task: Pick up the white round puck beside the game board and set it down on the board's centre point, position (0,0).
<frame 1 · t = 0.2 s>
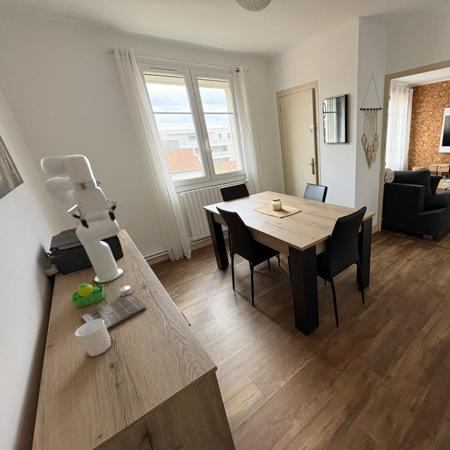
hand: (100, 224, 107), 36 cm above the table, tool pointing down, fingers open, 9 cm apart
fruit basket: (91, 301, 113), on the table
white round puck: (126, 293, 118), on the table
white cup: (100, 348, 87), on the table
board: (114, 313, 104), on the table
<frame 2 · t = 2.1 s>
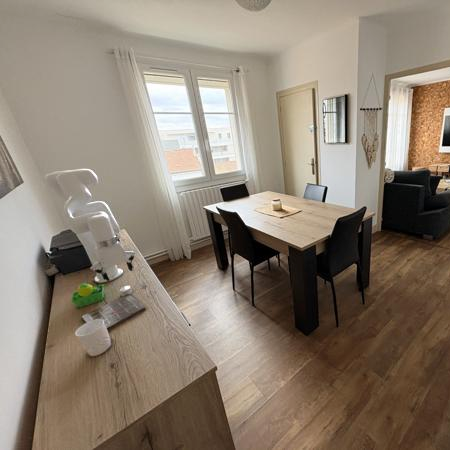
hand: (119, 274, 113), 11 cm above the table, tool pointing down, fingers open, 9 cm apart
nothing on the table moved.
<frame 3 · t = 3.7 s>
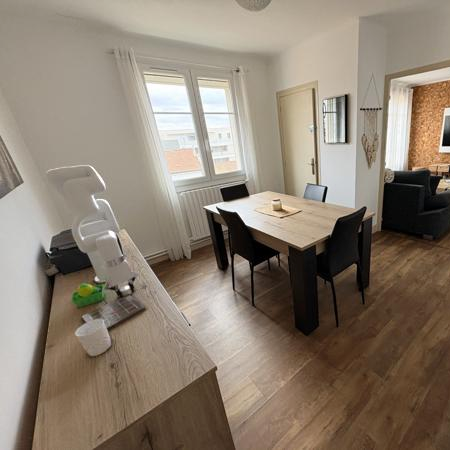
hand: (126, 292, 118), 0 cm above the table, tool pointing down, fingers closed on white round puck, 4 cm apart
white round puck: (126, 293, 118), on the table, touching gripper
everything else where it was.
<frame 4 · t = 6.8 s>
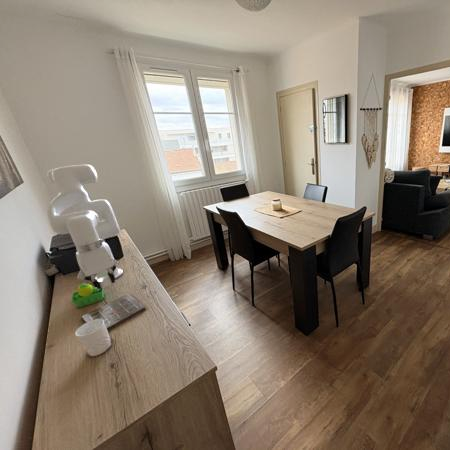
hand: (105, 284, 101), 14 cm above the table, tool pointing down, fingers closed on white round puck, 4 cm apart
white round puck: (106, 284, 101), point 14 cm above the table, touching gripper
everything else where it was.
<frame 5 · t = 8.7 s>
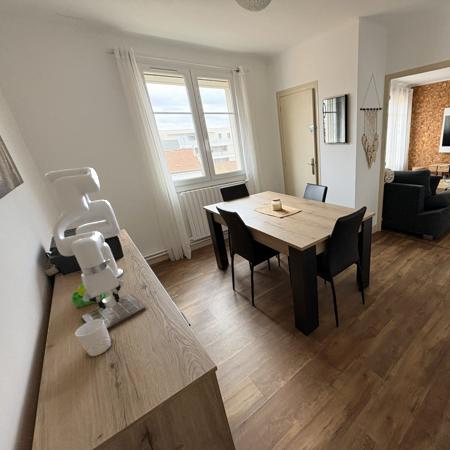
hand: (110, 304, 102), 5 cm above the table, tool pointing down, fingers closed on white round puck, 4 cm apart
white round puck: (110, 304, 102), point 5 cm above the table, touching gripper
everything else where it was.
when the fingers open (2 cm above the table, at t = 10.0 s): white round puck stays where it is, resting on board.
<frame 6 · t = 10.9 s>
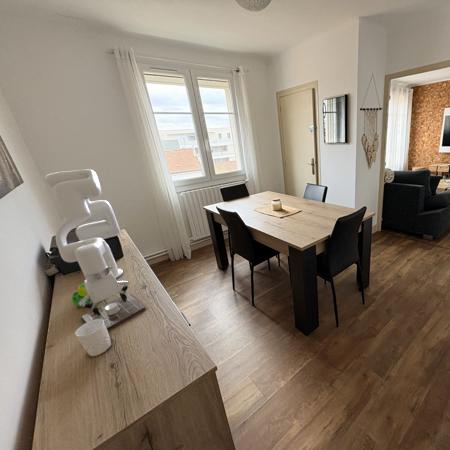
hand: (111, 307, 103), 3 cm above the table, tool pointing down, fingers open, 9 cm apart
white round puck: (113, 311, 104), point 1 cm above the table, touching board
everything else where it was.
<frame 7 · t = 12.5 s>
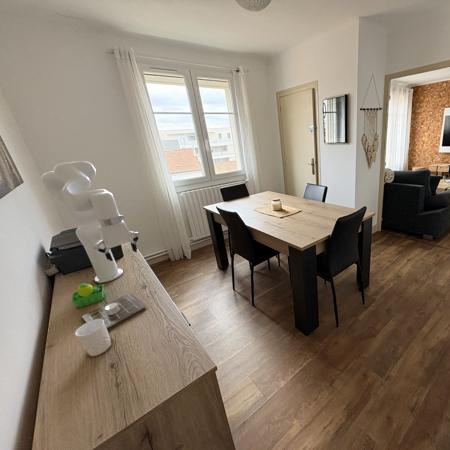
hand: (123, 255, 109), 21 cm above the table, tool pointing down, fingers open, 9 cm apart
nothing on the table moved.
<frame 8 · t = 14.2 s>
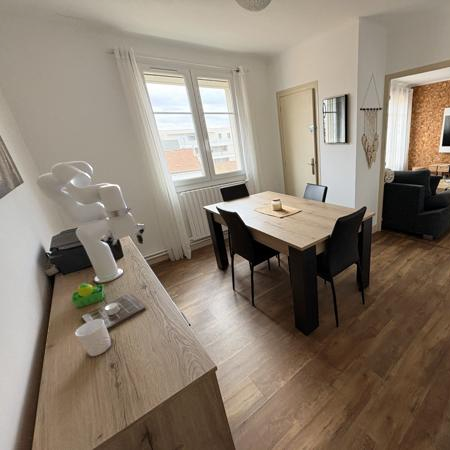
hand: (129, 247, 113), 23 cm above the table, tool pointing down, fingers open, 9 cm apart
nothing on the table moved.
at the end: white round puck 0.1 cm off-centre on the board, point 1.3 cm above the board's base; white round puck tilted 0°; the gripper is holding nothing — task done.
